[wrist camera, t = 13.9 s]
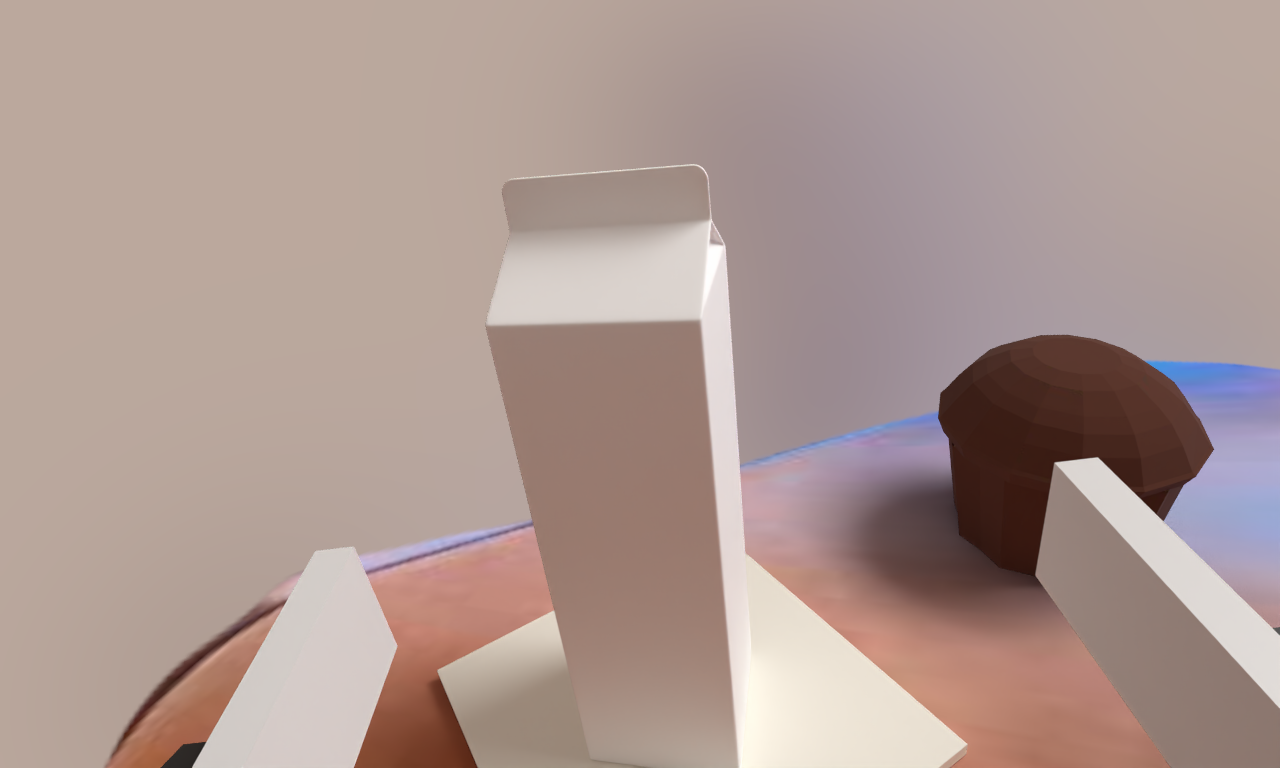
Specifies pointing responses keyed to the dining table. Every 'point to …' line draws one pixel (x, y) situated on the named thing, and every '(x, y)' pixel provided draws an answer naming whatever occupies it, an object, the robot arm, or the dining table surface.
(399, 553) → the dining table surface
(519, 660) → the mat
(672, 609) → the milk
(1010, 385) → the muffin
